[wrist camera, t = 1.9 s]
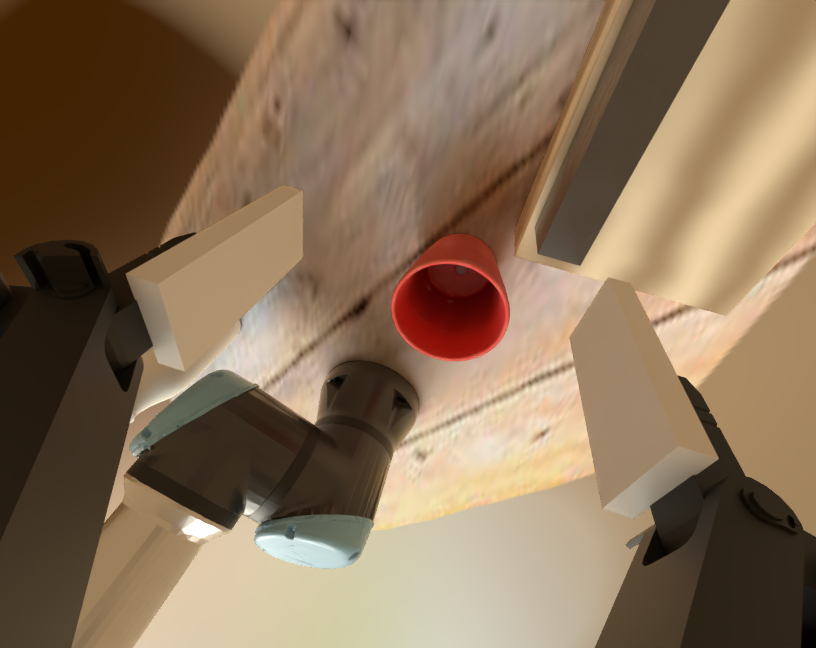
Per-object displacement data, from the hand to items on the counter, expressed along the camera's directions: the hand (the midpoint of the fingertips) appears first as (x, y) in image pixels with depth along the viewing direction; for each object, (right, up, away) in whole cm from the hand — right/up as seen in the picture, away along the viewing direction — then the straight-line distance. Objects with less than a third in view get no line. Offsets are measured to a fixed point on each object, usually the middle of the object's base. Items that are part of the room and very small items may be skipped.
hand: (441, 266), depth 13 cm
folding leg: (+12, +12, +10) cm, 20 cm away
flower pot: (+5, +4, +27) cm, 27 cm away
